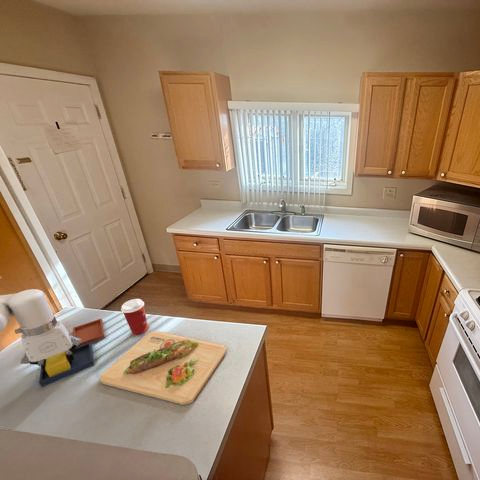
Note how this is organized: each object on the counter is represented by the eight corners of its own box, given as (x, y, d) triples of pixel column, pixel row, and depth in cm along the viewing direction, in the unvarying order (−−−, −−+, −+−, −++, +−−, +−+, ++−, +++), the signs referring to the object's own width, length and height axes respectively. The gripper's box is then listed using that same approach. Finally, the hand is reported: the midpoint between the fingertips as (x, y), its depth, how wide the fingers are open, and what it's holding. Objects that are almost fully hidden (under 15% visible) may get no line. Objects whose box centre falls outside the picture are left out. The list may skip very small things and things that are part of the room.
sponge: (70, 370, 88) (66, 361, 86) (50, 378, 85) (45, 369, 83) (70, 355, 93) (66, 346, 91) (51, 362, 90) (46, 353, 88)
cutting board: (229, 349, 100) (227, 335, 97) (189, 407, 79) (186, 391, 76) (152, 333, 106) (148, 319, 103) (96, 383, 85) (89, 367, 82)
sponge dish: (105, 337, 102) (103, 334, 102) (74, 349, 97) (72, 345, 96) (102, 321, 111) (101, 318, 110) (74, 330, 105) (72, 327, 104)
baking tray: (41, 387, 83) (38, 382, 82) (44, 364, 90) (41, 360, 89) (94, 365, 91) (92, 361, 90) (92, 346, 98) (90, 342, 97)
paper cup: (154, 329, 108) (147, 302, 102) (134, 340, 102) (125, 312, 96) (145, 321, 112) (137, 295, 106) (125, 332, 106) (116, 305, 100)
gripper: (-3, 345, 74) (23, 388, 81) (75, 320, 84) (92, 360, 92) (1, 331, 79) (26, 372, 86) (75, 309, 89) (91, 347, 97)
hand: (60, 365), depth 89 cm, fingers closed on sponge, 5 cm apart
